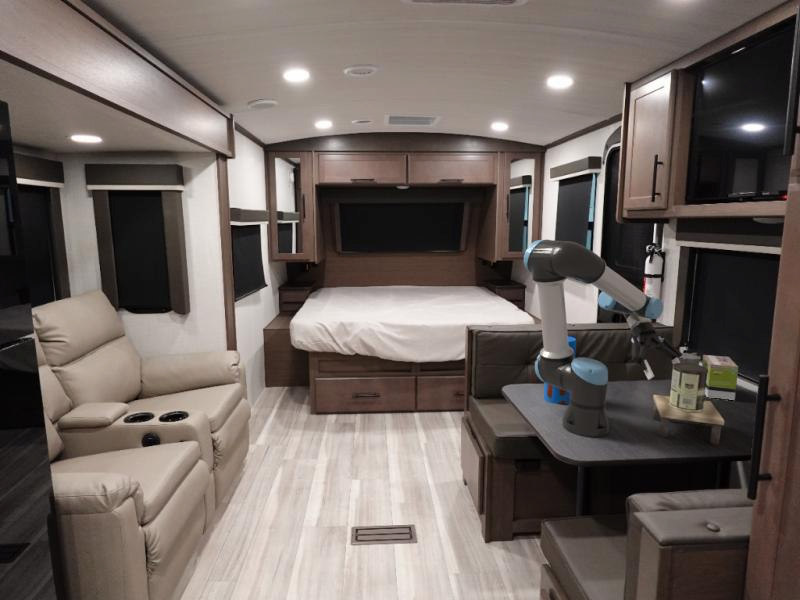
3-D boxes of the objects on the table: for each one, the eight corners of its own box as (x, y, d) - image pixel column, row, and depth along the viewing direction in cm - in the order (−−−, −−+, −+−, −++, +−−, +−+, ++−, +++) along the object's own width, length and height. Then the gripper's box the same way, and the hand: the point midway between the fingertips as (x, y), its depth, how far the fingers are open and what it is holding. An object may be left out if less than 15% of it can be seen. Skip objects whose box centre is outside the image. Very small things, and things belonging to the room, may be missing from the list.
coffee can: (692, 401, 174) (697, 362, 172) (709, 413, 164) (715, 371, 162) (662, 400, 175) (667, 362, 172) (678, 412, 164) (682, 371, 162)
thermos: (575, 404, 193) (580, 342, 189) (547, 404, 193) (551, 341, 189) (566, 394, 204) (571, 335, 200) (540, 394, 204) (544, 334, 200)
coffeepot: (688, 396, 203) (693, 354, 200) (665, 390, 211) (669, 348, 208) (706, 389, 212) (711, 348, 209) (683, 383, 220) (687, 343, 217)
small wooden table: (658, 436, 165) (661, 412, 164) (651, 416, 182) (653, 394, 181) (721, 445, 159) (724, 420, 158) (707, 424, 176) (710, 401, 175)
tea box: (698, 386, 216) (702, 353, 213) (725, 389, 212) (730, 356, 210) (706, 398, 202) (710, 363, 199) (735, 401, 198) (739, 366, 196)
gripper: (662, 329, 195) (689, 378, 183) (607, 332, 189) (631, 383, 177) (674, 319, 189) (703, 369, 177) (618, 322, 183) (643, 374, 171)
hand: (667, 376), depth 177 cm, fingers open, 13 cm apart
